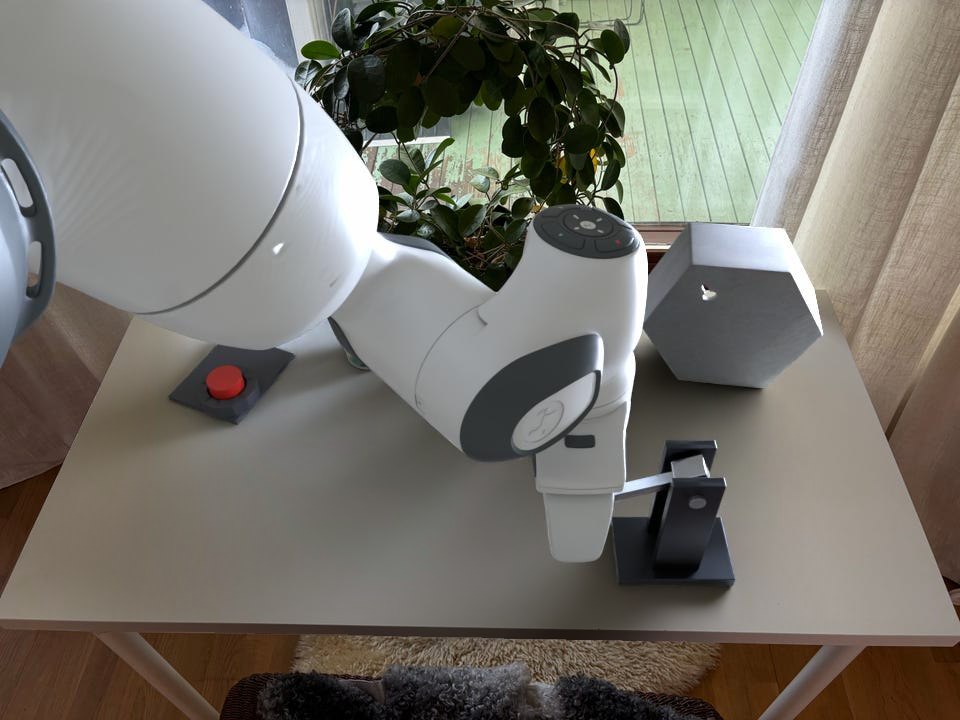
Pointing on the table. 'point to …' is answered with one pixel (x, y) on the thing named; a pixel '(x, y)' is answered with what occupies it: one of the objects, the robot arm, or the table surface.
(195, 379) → the button box
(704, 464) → the lever
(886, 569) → the table surface
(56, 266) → the robot arm
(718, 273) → the grey hexagonal block
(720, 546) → the bracket
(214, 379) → the button
